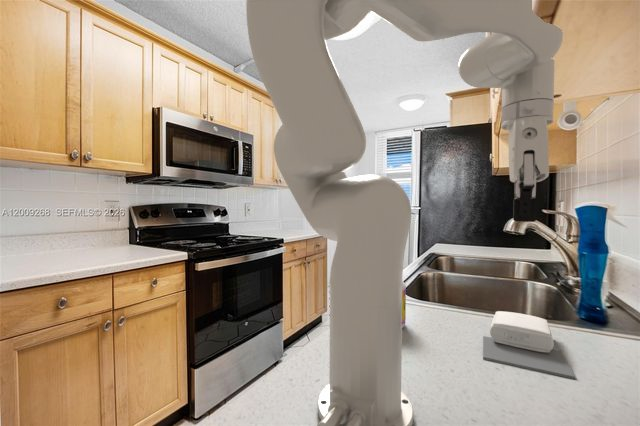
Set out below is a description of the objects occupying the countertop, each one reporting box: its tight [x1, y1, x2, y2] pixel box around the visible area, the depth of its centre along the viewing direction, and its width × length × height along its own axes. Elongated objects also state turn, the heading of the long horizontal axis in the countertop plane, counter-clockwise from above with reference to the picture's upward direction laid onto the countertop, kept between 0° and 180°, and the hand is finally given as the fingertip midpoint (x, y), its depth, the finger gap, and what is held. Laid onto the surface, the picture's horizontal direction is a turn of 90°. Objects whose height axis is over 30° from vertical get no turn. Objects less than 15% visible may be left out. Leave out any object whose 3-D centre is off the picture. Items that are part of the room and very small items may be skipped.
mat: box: [482, 335, 576, 380], centre depth 56 cm, size 10×13×1 cm
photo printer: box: [489, 310, 555, 353], centre depth 62 cm, size 10×4×12 cm
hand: (524, 221), depth 53 cm, fingers closed
